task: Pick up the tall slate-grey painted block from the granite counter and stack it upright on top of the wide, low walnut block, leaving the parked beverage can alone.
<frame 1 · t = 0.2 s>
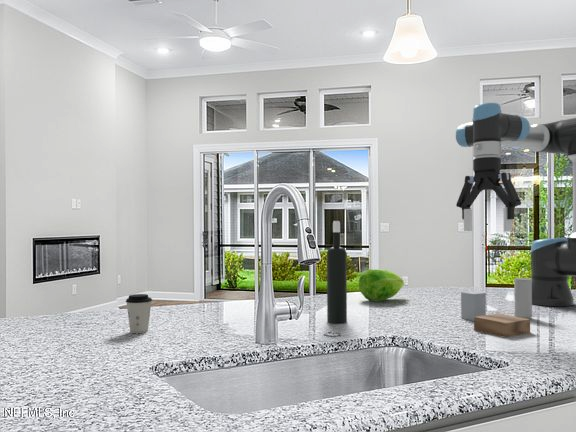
hand: (487, 231, 148), 27 cm above the worktop, fingers open, 13 cm apart
beverage can: (523, 318, 157), on the worktop
lettuce: (384, 300, 193), on the worktop
slate block: (473, 318, 156), on the worktop
walnut block: (501, 332, 139), on the worktop
coffee cup: (139, 332, 140), on the worktop
wine bottle: (337, 322, 153), on the worktop
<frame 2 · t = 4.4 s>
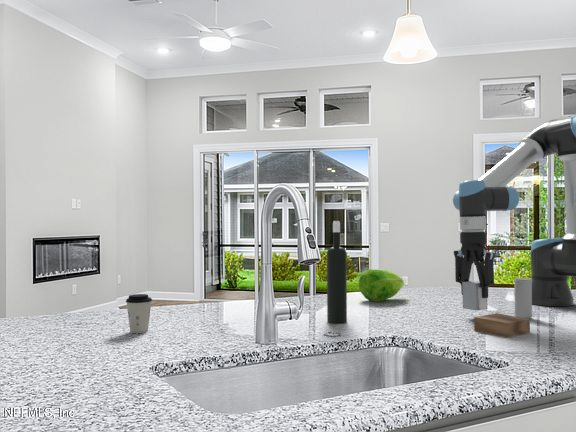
hand: (474, 307, 157), 3 cm above the worktop, fingers closed on slate block, 5 cm apart
slate block: (475, 308, 157), point 3 cm above the worktop, touching gripper
everything else where it was.
when the fingers open (4 cm above the worktop, at t = 9.2 s): slate block stays where it is, resting on walnut block.
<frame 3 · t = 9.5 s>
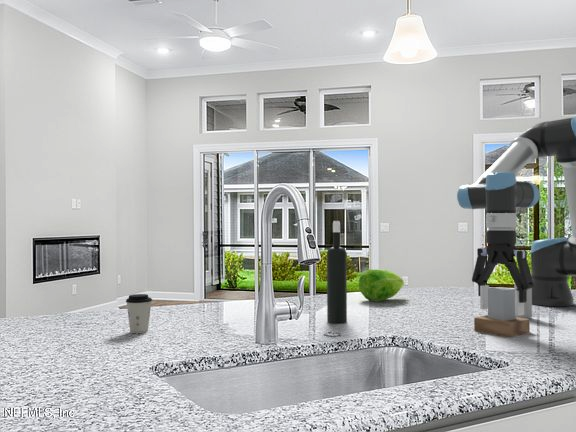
hand: (501, 311, 139), 5 cm above the worktop, fingers open, 10 cm apart
slate block: (501, 318, 139), point 4 cm above the worktop, touching walnut block
walnut block: (501, 333, 139), on the worktop, touching slate block
everything else where it was.
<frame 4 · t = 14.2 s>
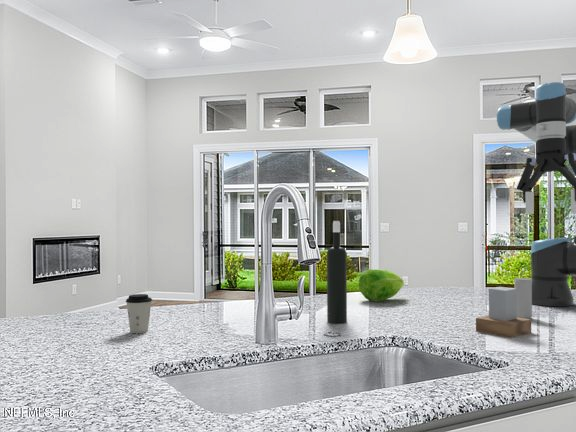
hand: (551, 213, 145), 32 cm above the worktop, fingers open, 13 cm apart
nothing on the worktop moved.
at the end: slate block inside the target area on the walnut block (0.0 cm from its centre), point 4.0 cm above the walnut block's base; slate block tilted 0°; the gripper is holding nothing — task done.
